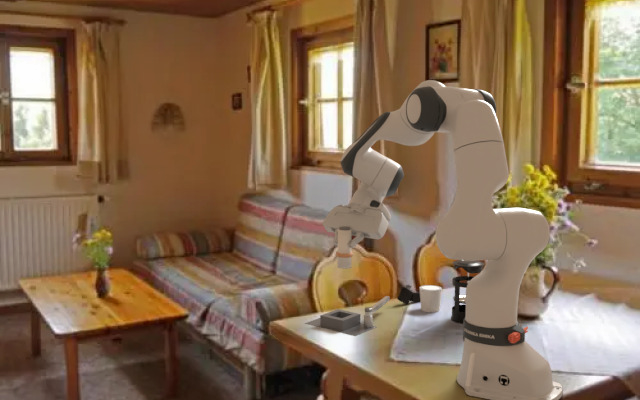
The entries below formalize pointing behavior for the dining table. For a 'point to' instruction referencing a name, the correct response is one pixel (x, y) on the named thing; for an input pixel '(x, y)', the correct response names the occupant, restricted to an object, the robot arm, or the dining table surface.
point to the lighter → (408, 295)
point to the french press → (470, 267)
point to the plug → (344, 247)
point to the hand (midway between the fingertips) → (343, 245)
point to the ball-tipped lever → (376, 306)
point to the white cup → (430, 298)
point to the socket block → (344, 322)
